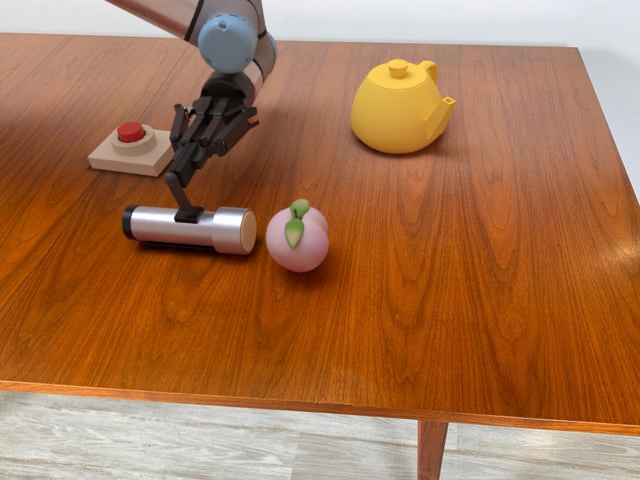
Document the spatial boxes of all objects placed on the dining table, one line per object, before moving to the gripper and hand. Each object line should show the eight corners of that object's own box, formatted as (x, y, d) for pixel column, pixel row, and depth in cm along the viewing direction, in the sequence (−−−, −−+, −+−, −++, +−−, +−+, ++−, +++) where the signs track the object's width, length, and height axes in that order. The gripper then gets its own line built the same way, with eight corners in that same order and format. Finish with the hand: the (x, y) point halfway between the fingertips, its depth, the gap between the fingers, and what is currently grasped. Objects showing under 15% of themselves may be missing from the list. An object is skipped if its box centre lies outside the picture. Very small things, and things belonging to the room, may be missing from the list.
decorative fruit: (273, 245, 83) (261, 189, 76) (330, 240, 84) (323, 184, 76) (271, 293, 77) (257, 236, 69) (333, 287, 77) (326, 231, 70)
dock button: (115, 142, 96) (111, 133, 95) (128, 129, 99) (124, 120, 97) (137, 145, 95) (134, 135, 94) (149, 132, 98) (146, 123, 97)
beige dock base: (92, 168, 97) (82, 147, 94) (123, 136, 104) (115, 116, 101) (157, 176, 95) (149, 156, 92) (184, 143, 102) (178, 123, 99)
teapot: (332, 133, 103) (325, 64, 94) (404, 94, 112) (404, 27, 103) (416, 179, 93) (418, 107, 84) (487, 132, 103) (496, 62, 93)
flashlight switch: (179, 212, 78) (160, 178, 73) (182, 203, 79) (164, 168, 73) (190, 213, 78) (172, 179, 72) (194, 203, 79) (176, 169, 73)
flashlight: (129, 254, 82) (113, 219, 78) (148, 225, 87) (133, 190, 82) (247, 264, 81) (237, 229, 76) (260, 234, 85) (252, 199, 80)
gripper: (276, 112, 93) (232, 205, 77) (198, 109, 94) (138, 199, 78) (268, 67, 88) (219, 157, 72) (185, 65, 89) (118, 152, 73)
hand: (177, 179), depth 75 cm, fingers closed
